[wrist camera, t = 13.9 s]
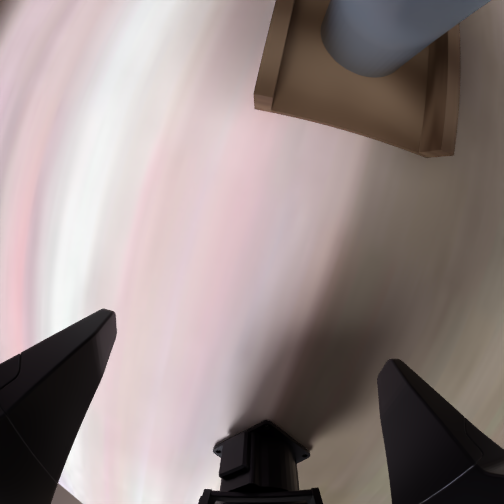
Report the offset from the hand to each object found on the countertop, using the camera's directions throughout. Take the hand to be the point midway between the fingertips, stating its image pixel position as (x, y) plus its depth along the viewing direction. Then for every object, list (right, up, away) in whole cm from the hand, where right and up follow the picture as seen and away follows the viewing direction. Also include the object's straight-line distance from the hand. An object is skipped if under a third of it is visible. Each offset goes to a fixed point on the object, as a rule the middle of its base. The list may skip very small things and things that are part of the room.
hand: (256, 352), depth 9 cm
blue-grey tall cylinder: (+7, +17, +7) cm, 20 cm away
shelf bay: (+7, +17, +7) cm, 20 cm away
